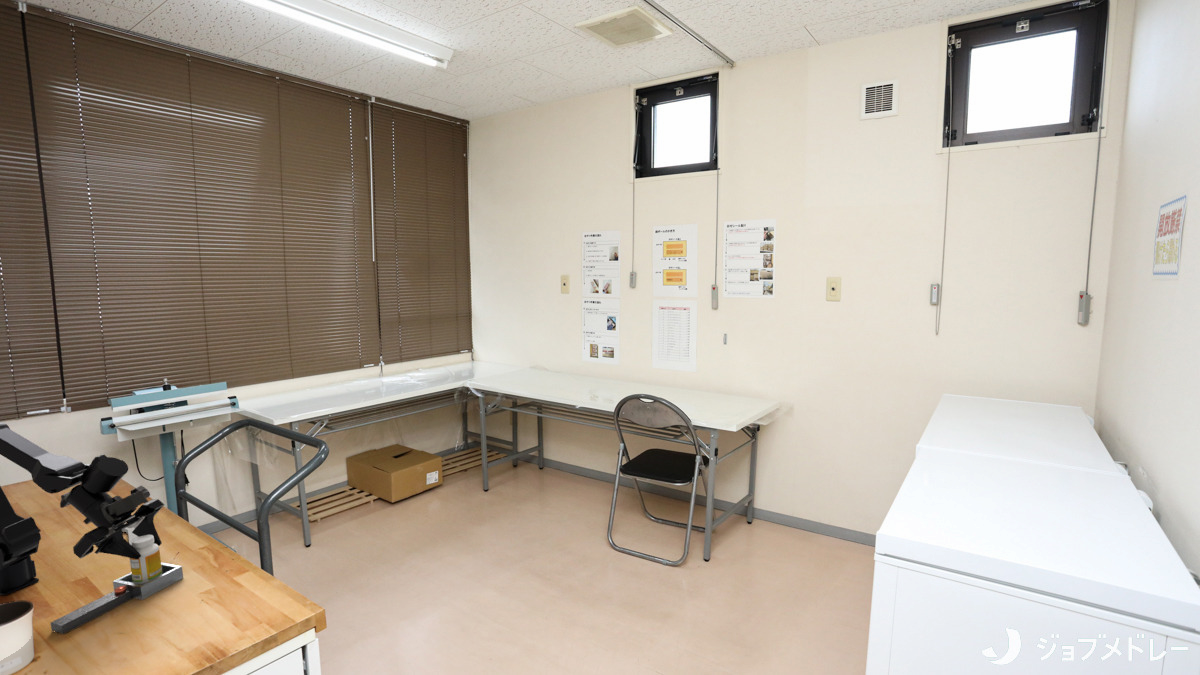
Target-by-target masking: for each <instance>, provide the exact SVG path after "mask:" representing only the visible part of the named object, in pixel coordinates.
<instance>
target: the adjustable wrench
mask: <svg viewBox="0 0 1200 675" xmlns="http://www.w3.org/2000/svg"><path fill="white" fill-rule="evenodd" d="M126 523H127V522H126ZM126 523H125V524H126ZM134 529H135V528H134V527H133V526H131V525H130V526H128V527H127V528H125V529H123V530H122V532H126V533H125V534H127V535H128V543H129V544H131V545H132V540H133V539H135V538H137V537H138V536H137V535H135V534H133V533H132V531H133V530H134Z"/></svg>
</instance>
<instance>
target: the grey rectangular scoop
mask: <svg viewBox="0 0 1200 675" xmlns="http://www.w3.org/2000/svg"><path fill="white" fill-rule="evenodd" d="M161 565H162V575H160V576H158V577H157V578H155V579H153V580H151V581H149V582H147V583H145V584H135V583H133V580H132V572H129V573H127V574H125V575H123V576H121V577H119V578H117V579H114V580H112V584H113V585H112V586H113V591H112V592H109V593H107V594H105V595H103V596H101V597H99V598H97V599H95V600H93V601H91V602H89V603H87V604H85V605H83V606H81V607H78V608H77V609H75V610H73V611H71V612H69V613H67V614H64V615H63V616H60V617H59V618H57V619H55V620H53V621H51V622H50V627H51V632H52V631H55V632H59V633H62V634H64V633H66V632H68V631H70V630H72V629H73V630H75V629H77V628H79V627H81V626H83V625H85V624H87V623H89V622H91V621H92V620H94V619H96V618H99V617H100V616H102V615H104V614H106V613H108V612H110V611H111V610H114V609H116V608H117V607H119V606H121V605H124V604H125V603H127V602H129V601H131V600H133V599H135V600H136V599H137V600H140V601H141V600H142V601H143V600H145V599H148V598H149V597H150V596H153V595H155V594H157V593H158V592H160V591H162V590H164V589H166V588H168V587H170V586H171V584H172V585H173V584H175V583H177V582H179V581H181V580H183V579H184V573H183V566H182V565H176V564H172V563H168V562H167V563H166V562H162V561H161ZM73 630H72V631H73ZM55 632H54V633H55ZM70 632H71V631H70ZM59 633H58V634H59ZM68 633H69V632H68ZM62 634H61V635H62ZM66 634H67V633H66ZM64 635H65V634H64Z"/></svg>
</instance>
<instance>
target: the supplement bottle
mask: <svg viewBox="0 0 1200 675" xmlns="http://www.w3.org/2000/svg"><path fill="white" fill-rule="evenodd" d="M132 546H133V547H134V548H135V549H136V550H137V551H138V552H139V553H140V555H141V557H140V558H139V559H133V558H129V565H130V570H131V572H132V580H133V583H135V584H145V583H147V582H149V581H151V580H153V579H155V578H157V577H158V576H160V575H162V565H161V562H162V560H161V552H160V551H161V550H160V546H158V545H157V544H155V543H154V536H153V535H144V536H140V537H137V538H135V539H133V540H132ZM131 572H130V573H131Z"/></svg>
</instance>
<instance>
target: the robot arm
mask: <svg viewBox="0 0 1200 675" xmlns="http://www.w3.org/2000/svg"><path fill="white" fill-rule="evenodd" d="M0 456H3V458H6V459H7V460H9V461H11V462H12V463H14V464H16V465H17V466H19V467H21V468H23V469H24V470H25V471H27V472H28V473H30V474H31V479H32V482H33V483H34V484H36V485H37V486H38V487H39V488H41V490H42V491H44V492H45V493H48V494H57V493H60V492H63V491H65V490H68V489H71V488H72V489H71V490H69V492H66V493H64V494H62V495H61V496H60V498H61V500H60V503H59V505H60V506H59V507H60V508H62V509H63V508H65V507H67V506H70V505H71V507H73V508H74V509H75V510H77V511H78V512H79V513H80V514H81V515H82V516H83V517H84V518H85V519H84V520H83V521H82V522H83V523H84V524H85V525H89V524H90V523H92V524H93V525H94V526H95V528H93V529H91V530H89V531H88V532H86V533H84V534H83V535H82V537H81V538H80V539H79V540H78V541H77V542H76V543H75V545H74V546H73V547H72V548H73V550H72V551H73V554H74V555H75V556H76V557H77V558H78V559H83V558H85V557H86V556H88V555H90V554H92V553H93V552H94V554H96V555H97V554H99V553H101V554H106V555H107V554H108V555H115V556H121V557H123V558H124V557H125V558H128V559H130V558H133V559H139V558H140V557H141V555H140V553H139V552H138V551H137V550H136V549H135V548H134V547H133V546H132V545H131V544H129V541H127V539H125V537H124V534H123V533H122V530H123V529H125V528H127V527H128V526H130V525H131V526H133V527H134V528H135V529H134V530H133V531H132V533H133V534H135V535H137V536H138V537H140V536H144V535H153V536H154V543H155V544H157V545H158V546H159V547H160V546H161V545H162V540H161V539H160V536H159V534H158V531H157V529H156V527H155V523H154V518H155V516H157V514H158V513H159V512H160V511H161V510H162V508H163V507H164V506H165V503H163V502H162V501H161V500H160V499H158V498H156V499H155V498H153V499H151V500H149V501H148V499H147V498H150V496H151V492H150V490H148V488H146V487H145V486H143V485H139V486H137V487H135V488H133V489H131V490H130V495H128V496H125V497H124V498H123V497H122V496H119V495H115V496H111V495H110V494H109V493H108V492H111V491H112V490H113V489H114V488H115V487H116V485H117V484H118V483H119V482H120V481H121V480H122V479H123V478H124V477H125V475H126V474H127V473H128V472H129V465H128V463H126V461H124V460H122V459H119V458H118V457H113V456H112V457H111V456H109V457H108V456H107V455H105V454H104V453H103V454H100V455H98V456H95V457H94V458H93V459H92V461H91V463H90V464H88V463H87V464H86V463H83V462H82V461H81V460H78V459H75V458H73V457H70V456H68V455H60V454H54V453H51V452H50V451H47V450H46V449H44V448H43V447H41V446H39V445H37V444H35V443H34V442H32V441H30V440H29V439H27V438H26V437H24V436H23V435H20V433H17V432H15V431H13V430H12V429H11V428H10V427H9V425H8V424H7V423H4V422H0ZM137 508H138V509H137ZM132 513H133V514H132ZM125 523H126V524H125ZM41 532H42V530H41V529H40V528H39V527H38V526H37V523H36V521H35V519H34V518H33V517H32V516H29V517H27V518H25V517H23V516H21V515H18V514H17V513H16V512H15V509H14V508H13V506H12V504H11V502H10V501H9V499H8V497H7V495H6V493H5V491H4V490H3V488H2V487H1V485H0V596H7V595H10V594H12V593H14V592H17V591H18V590H21V589H23V588H25V587H28V586H31V585H33V584H35V583H37V582H39V581H40V579H39V578H38V577H37V576H38V575H37V570H36V564H35V560H34V559H32V556H31V555H33V554H36V553H38V551H39V546H40V540H42V535H41ZM95 547H96V548H97V549H96V550H95V551H94V549H95Z"/></svg>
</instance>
